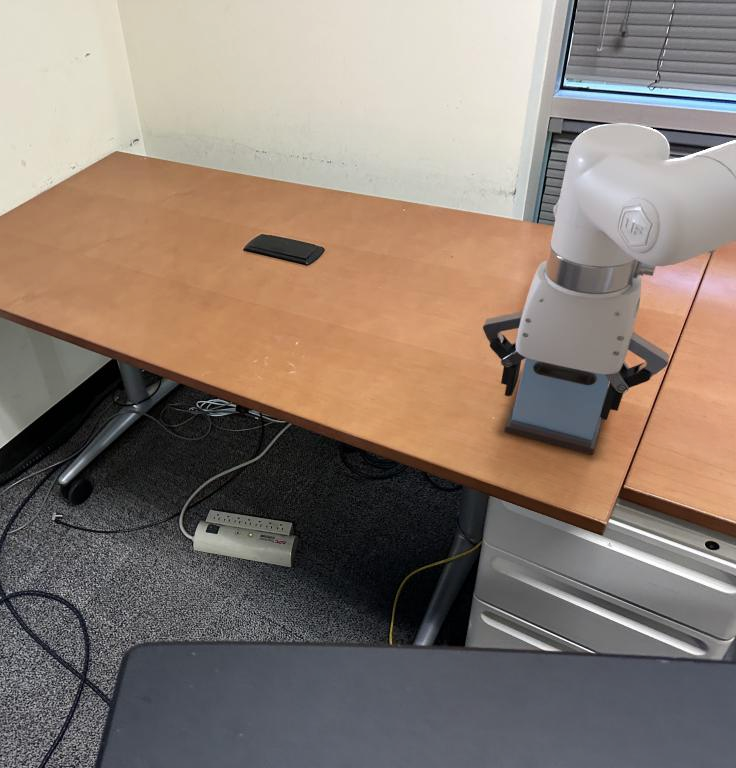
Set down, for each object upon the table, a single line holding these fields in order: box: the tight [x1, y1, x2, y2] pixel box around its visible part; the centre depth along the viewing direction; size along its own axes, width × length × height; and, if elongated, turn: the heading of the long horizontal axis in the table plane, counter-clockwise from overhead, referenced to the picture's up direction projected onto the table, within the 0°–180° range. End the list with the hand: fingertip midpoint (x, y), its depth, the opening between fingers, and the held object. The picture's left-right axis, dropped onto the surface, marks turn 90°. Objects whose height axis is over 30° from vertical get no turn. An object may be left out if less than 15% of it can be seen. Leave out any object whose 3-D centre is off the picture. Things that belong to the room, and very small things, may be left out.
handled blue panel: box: [512, 358, 610, 440], centre depth 78 cm, size 11×9×5 cm
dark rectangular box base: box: [504, 389, 608, 456], centre depth 86 cm, size 12×10×2 cm
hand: (556, 399), depth 75 cm, fingers open, 9 cm apart
